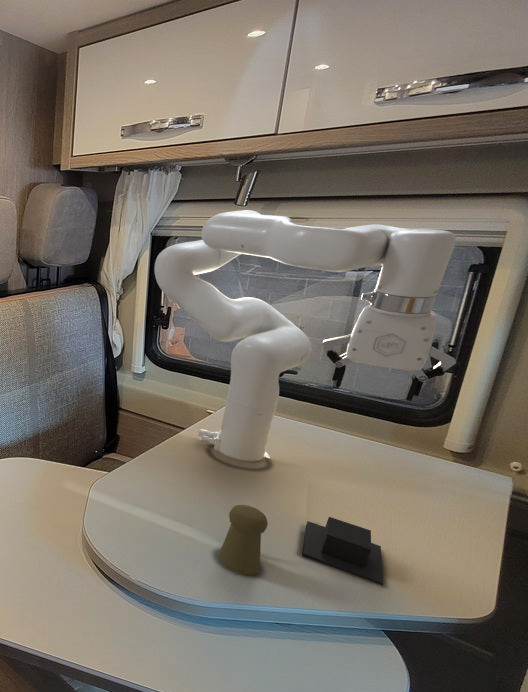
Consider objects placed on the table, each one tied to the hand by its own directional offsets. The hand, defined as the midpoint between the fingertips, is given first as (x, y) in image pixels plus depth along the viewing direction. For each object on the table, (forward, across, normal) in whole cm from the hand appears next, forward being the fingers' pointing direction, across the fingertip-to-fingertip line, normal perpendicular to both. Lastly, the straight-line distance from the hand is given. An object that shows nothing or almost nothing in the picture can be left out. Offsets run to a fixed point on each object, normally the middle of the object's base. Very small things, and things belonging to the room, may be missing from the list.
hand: (371, 391), depth 85 cm
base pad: (+23, +1, -20) cm, 31 cm away
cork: (+23, -12, -34) cm, 43 cm away
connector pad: (+22, +1, -20) cm, 30 cm away
